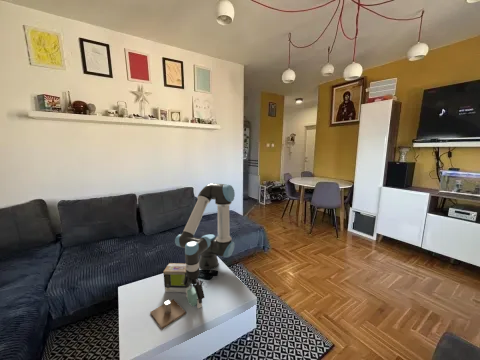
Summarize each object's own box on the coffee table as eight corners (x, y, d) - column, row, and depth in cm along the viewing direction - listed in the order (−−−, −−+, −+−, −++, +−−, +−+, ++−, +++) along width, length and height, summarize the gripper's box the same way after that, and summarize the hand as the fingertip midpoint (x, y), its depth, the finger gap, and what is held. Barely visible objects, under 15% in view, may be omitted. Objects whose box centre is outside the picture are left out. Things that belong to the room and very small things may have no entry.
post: (169, 309, 118) (168, 300, 117) (171, 311, 116) (170, 302, 115) (164, 311, 116) (164, 302, 115) (166, 314, 115) (166, 305, 114)
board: (173, 300, 126) (173, 298, 126) (185, 313, 117) (185, 311, 116) (150, 313, 117) (150, 312, 116) (161, 329, 107) (161, 327, 107)
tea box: (192, 282, 142) (191, 263, 139) (187, 293, 132) (186, 272, 130) (170, 282, 143) (169, 262, 140) (164, 292, 133) (162, 271, 130)
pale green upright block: (195, 297, 129) (194, 286, 127) (200, 301, 125) (199, 290, 124) (188, 302, 125) (187, 290, 124) (192, 306, 121) (192, 295, 120)
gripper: (176, 262, 127) (178, 294, 130) (198, 280, 110) (200, 316, 114) (187, 258, 132) (188, 289, 136) (210, 274, 115) (211, 309, 119)
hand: (194, 301), depth 125 cm, fingers open, 11 cm apart
